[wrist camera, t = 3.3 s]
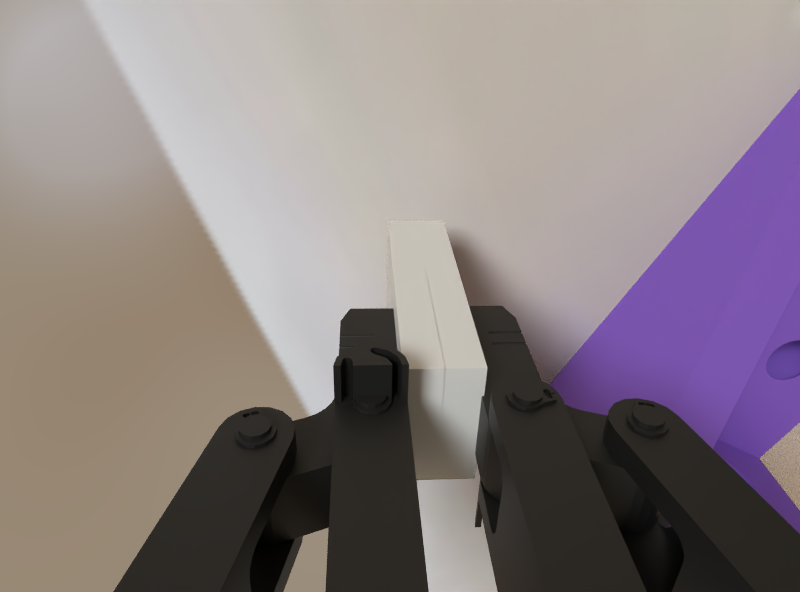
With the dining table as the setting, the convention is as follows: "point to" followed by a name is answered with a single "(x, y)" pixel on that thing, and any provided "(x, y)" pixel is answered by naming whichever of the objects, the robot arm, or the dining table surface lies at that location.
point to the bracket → (716, 318)
